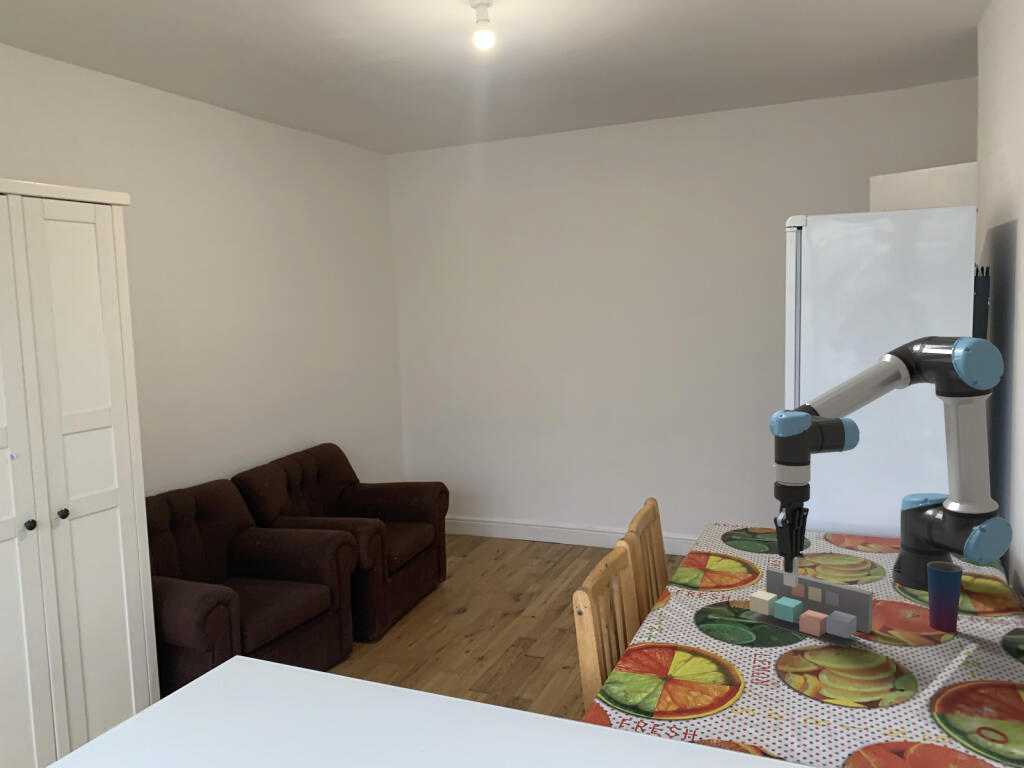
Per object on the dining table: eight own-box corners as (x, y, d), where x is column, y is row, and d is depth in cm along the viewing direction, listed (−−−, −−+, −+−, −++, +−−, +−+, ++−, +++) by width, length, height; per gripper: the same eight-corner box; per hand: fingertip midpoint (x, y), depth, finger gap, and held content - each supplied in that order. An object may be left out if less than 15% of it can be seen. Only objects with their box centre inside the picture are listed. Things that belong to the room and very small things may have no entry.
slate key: (835, 625, 167) (835, 610, 167) (856, 631, 164) (856, 616, 163) (826, 632, 164) (826, 616, 164) (847, 638, 161) (847, 622, 160)
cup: (965, 639, 165) (967, 572, 164) (931, 637, 167) (933, 571, 165) (953, 626, 172) (956, 561, 170) (921, 624, 173) (922, 560, 172)
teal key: (783, 611, 176) (783, 596, 175) (802, 616, 172) (802, 601, 172) (773, 617, 173) (774, 602, 172) (793, 622, 169) (793, 607, 169)
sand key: (759, 604, 180) (759, 590, 180) (777, 609, 177) (777, 594, 176) (749, 610, 177) (749, 595, 177) (767, 615, 174) (767, 600, 173)
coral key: (808, 624, 172) (808, 609, 171) (828, 630, 168) (828, 615, 168) (799, 631, 168) (799, 615, 168) (819, 637, 165) (819, 621, 165)
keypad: (771, 606, 186) (771, 566, 185) (872, 635, 169) (873, 591, 168) (737, 626, 175) (737, 584, 174) (842, 659, 158) (843, 613, 157)
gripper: (788, 474, 176) (787, 573, 178) (762, 484, 167) (761, 589, 169) (821, 479, 171) (819, 581, 173) (795, 489, 162) (794, 597, 164)
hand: (790, 584), depth 171 cm, fingers closed
